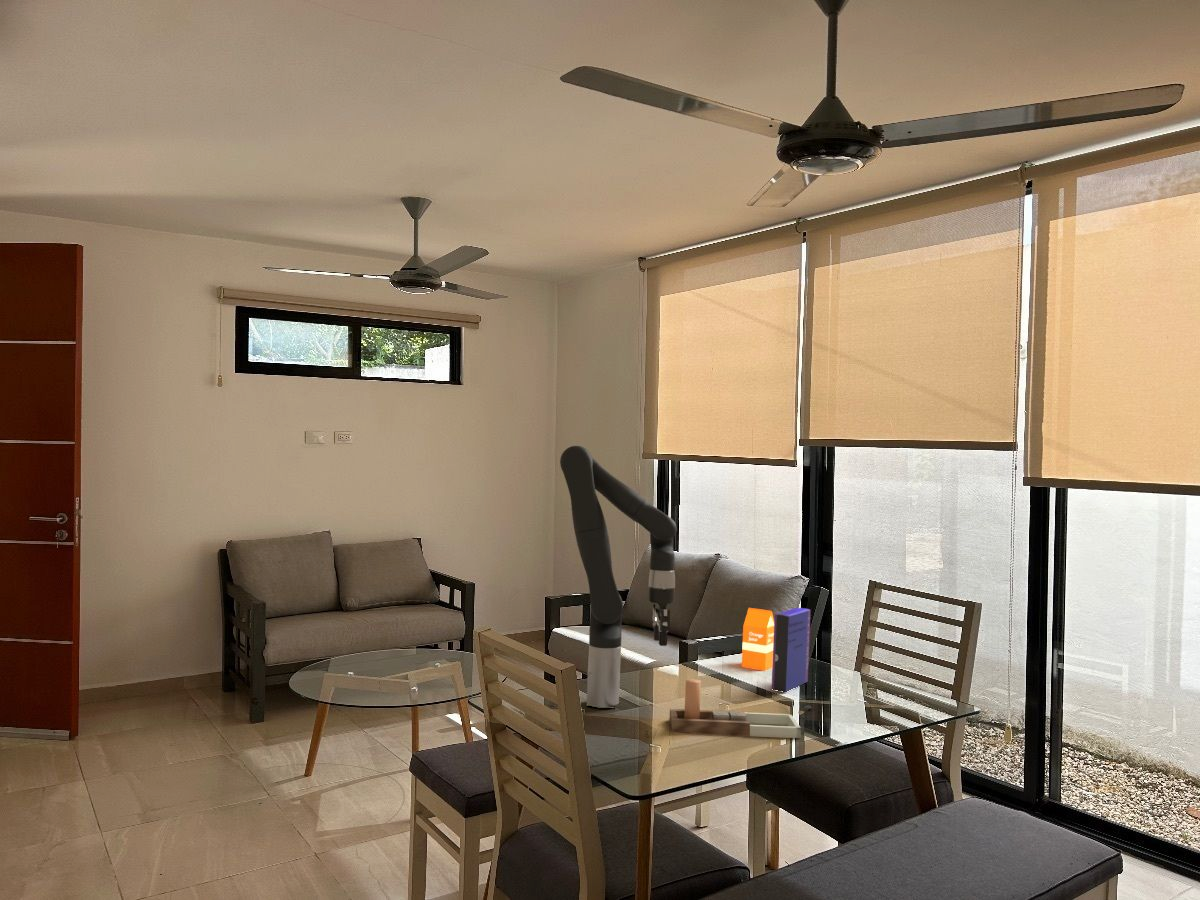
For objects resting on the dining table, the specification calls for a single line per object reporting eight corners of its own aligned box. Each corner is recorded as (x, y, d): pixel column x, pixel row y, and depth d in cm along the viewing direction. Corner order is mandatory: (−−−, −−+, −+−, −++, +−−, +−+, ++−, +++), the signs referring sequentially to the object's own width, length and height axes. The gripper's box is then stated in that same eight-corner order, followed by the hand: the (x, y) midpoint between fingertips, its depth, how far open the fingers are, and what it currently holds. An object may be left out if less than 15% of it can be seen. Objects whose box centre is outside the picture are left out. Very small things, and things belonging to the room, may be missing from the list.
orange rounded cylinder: (684, 728, 236) (686, 682, 236) (683, 723, 240) (685, 678, 240) (699, 729, 236) (701, 683, 236) (698, 724, 240) (700, 679, 240)
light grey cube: (713, 729, 236) (713, 714, 236) (711, 724, 240) (712, 710, 240) (728, 730, 236) (729, 715, 236) (726, 725, 240) (727, 710, 240)
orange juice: (765, 670, 307) (767, 612, 307) (741, 666, 312) (743, 609, 312) (773, 666, 314) (776, 609, 314) (750, 662, 319) (752, 606, 319)
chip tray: (749, 739, 232) (750, 725, 232) (742, 725, 244) (743, 712, 244) (800, 741, 232) (800, 727, 232) (790, 727, 244) (791, 714, 244)
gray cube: (730, 730, 236) (731, 715, 236) (728, 725, 240) (728, 710, 240) (745, 731, 236) (746, 715, 236) (743, 726, 240) (743, 711, 240)
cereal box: (793, 679, 296) (796, 607, 296) (807, 682, 294) (810, 609, 294) (771, 690, 282) (774, 613, 282) (785, 693, 279) (788, 615, 279)
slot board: (672, 736, 232) (673, 721, 232) (668, 722, 244) (669, 707, 244) (749, 739, 232) (750, 724, 232) (742, 725, 244) (743, 710, 244)
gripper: (644, 583, 264) (643, 638, 263) (653, 588, 250) (651, 647, 249) (669, 583, 265) (668, 639, 264) (679, 588, 251) (678, 647, 250)
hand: (660, 642), depth 257 cm, fingers open, 8 cm apart
